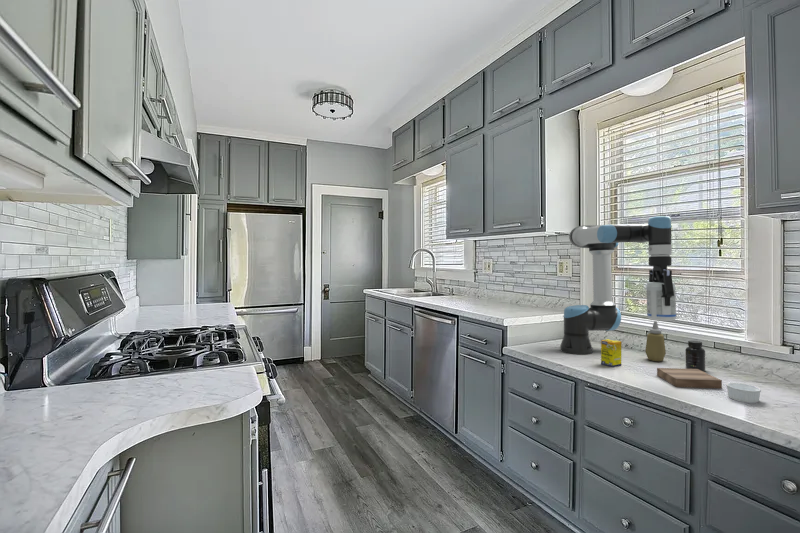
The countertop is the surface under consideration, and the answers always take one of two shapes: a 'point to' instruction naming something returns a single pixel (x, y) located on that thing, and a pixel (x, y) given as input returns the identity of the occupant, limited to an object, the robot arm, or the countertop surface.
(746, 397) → the ramekin
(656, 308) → the supplement tub
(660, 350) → the squeeze bottle
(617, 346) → the supplement box
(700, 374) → the walnut plinth
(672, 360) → the countertop surface
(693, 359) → the supplement bottle
